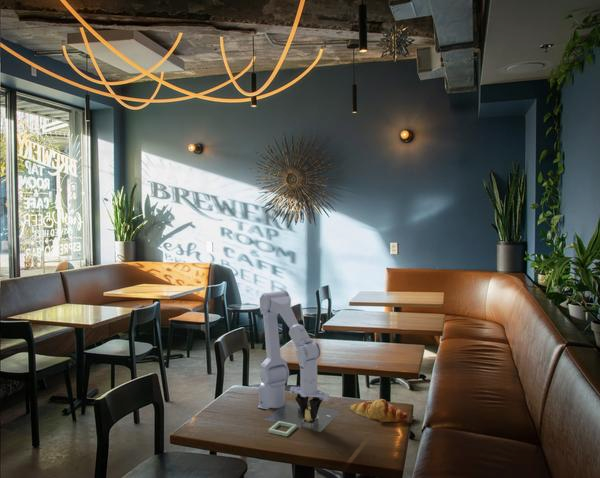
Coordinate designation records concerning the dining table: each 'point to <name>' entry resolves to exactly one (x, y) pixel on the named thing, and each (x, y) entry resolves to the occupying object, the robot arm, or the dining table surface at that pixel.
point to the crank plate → (292, 416)
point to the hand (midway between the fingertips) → (309, 417)
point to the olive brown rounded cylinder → (308, 415)
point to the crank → (308, 405)
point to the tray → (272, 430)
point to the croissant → (379, 411)
